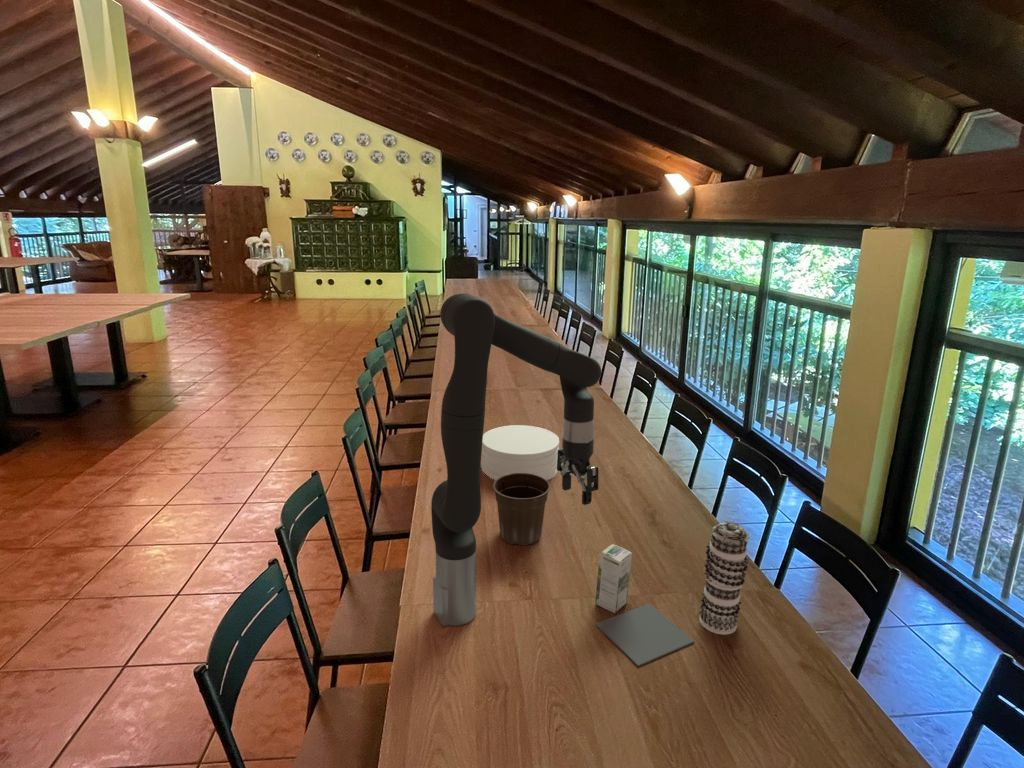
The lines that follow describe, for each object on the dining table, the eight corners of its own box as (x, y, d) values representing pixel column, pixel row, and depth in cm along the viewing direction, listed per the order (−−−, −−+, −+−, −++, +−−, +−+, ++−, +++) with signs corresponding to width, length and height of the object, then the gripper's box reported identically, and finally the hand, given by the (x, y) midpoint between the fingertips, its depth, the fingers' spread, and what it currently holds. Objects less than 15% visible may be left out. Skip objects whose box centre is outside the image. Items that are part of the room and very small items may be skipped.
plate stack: (473, 481, 214) (473, 450, 211) (489, 450, 240) (490, 422, 237) (553, 488, 210) (555, 457, 206) (561, 456, 236) (562, 428, 233)
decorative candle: (689, 615, 146) (700, 521, 139) (719, 606, 150) (732, 514, 143) (715, 640, 138) (728, 541, 131) (747, 629, 142) (762, 533, 135)
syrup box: (607, 593, 154) (610, 542, 150) (627, 603, 150) (632, 551, 146) (594, 604, 150) (598, 552, 145) (616, 614, 146) (620, 561, 142)
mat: (638, 666, 130) (638, 665, 130) (595, 624, 142) (595, 623, 142) (693, 642, 137) (694, 641, 137) (649, 604, 150) (649, 603, 150)
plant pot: (517, 556, 169) (519, 504, 164) (481, 533, 181) (481, 483, 176) (559, 537, 179) (561, 486, 175) (522, 515, 191) (523, 468, 186)
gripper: (548, 428, 151) (548, 488, 156) (582, 448, 139) (580, 512, 144) (574, 423, 155) (572, 481, 160) (609, 442, 143) (606, 505, 148)
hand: (576, 496), depth 152 cm, fingers open, 8 cm apart
